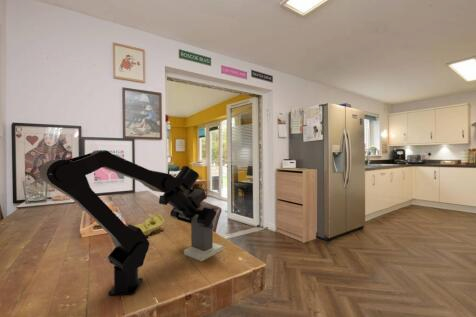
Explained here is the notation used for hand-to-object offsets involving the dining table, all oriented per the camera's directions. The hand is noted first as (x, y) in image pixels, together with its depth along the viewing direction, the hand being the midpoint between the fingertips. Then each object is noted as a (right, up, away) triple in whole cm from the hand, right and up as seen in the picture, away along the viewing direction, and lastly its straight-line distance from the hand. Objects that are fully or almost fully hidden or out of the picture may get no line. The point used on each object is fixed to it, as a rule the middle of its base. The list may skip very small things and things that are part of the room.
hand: (204, 225), depth 81 cm
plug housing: (-1, -7, -1) cm, 8 cm away
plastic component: (-31, -10, +17) cm, 37 cm away
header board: (0, -9, -2) cm, 9 cm away
